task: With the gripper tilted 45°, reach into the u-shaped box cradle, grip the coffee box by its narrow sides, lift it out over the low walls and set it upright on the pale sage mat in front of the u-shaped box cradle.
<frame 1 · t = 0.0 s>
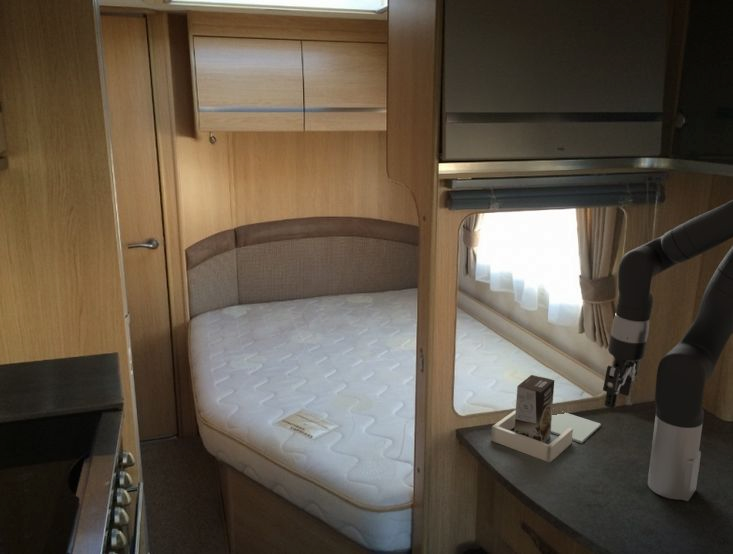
hand: (617, 400, 149), 17 cm above the counter, tool pointing down, fingers open, 8 cm apart
u-shaped box cradle: (532, 441, 165), on the counter
coffee box: (532, 441, 165), on the counter
mat: (565, 425, 173), on the counter
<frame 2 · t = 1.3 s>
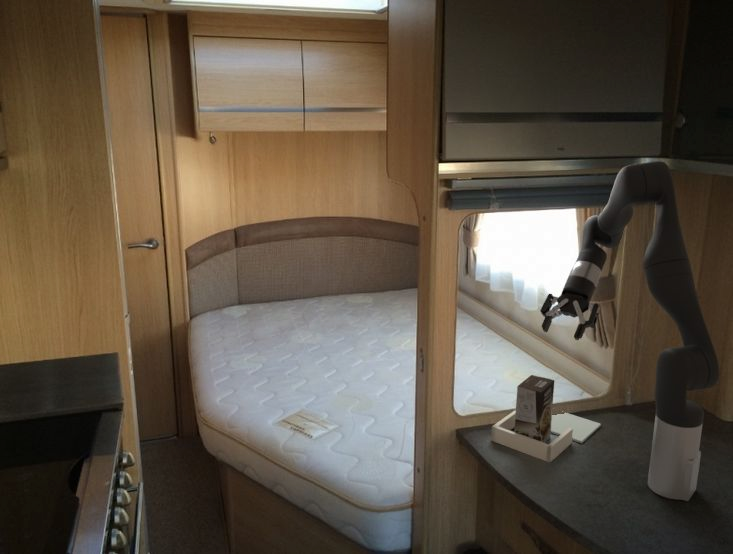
hand: (560, 334, 168), 25 cm above the counter, tool tilted 45°, fingers open, 8 cm apart
nothing on the counter moved.
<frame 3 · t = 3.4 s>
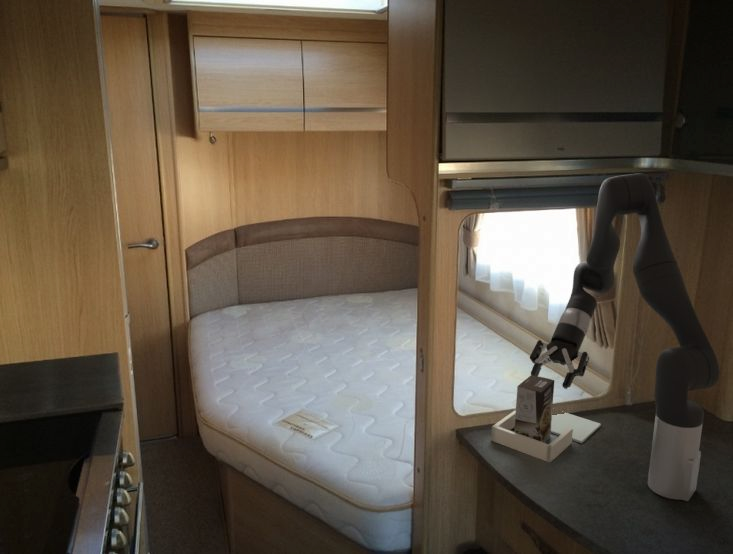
hand: (548, 382, 167), 14 cm above the counter, tool tilted 45°, fingers open, 8 cm apart
nothing on the counter moved.
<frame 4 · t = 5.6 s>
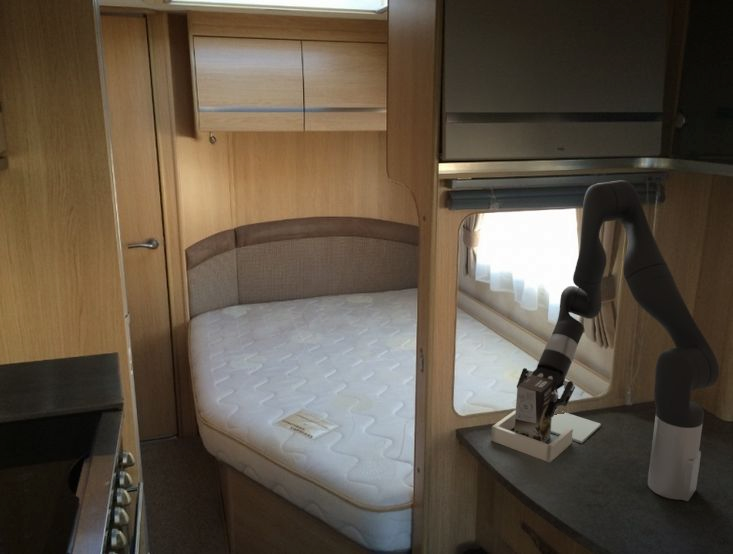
hand: (533, 412, 163), 8 cm above the counter, tool tilted 45°, fingers closed on coffee box, 6 cm apart
coffee box: (532, 441, 165), on the counter, touching gripper
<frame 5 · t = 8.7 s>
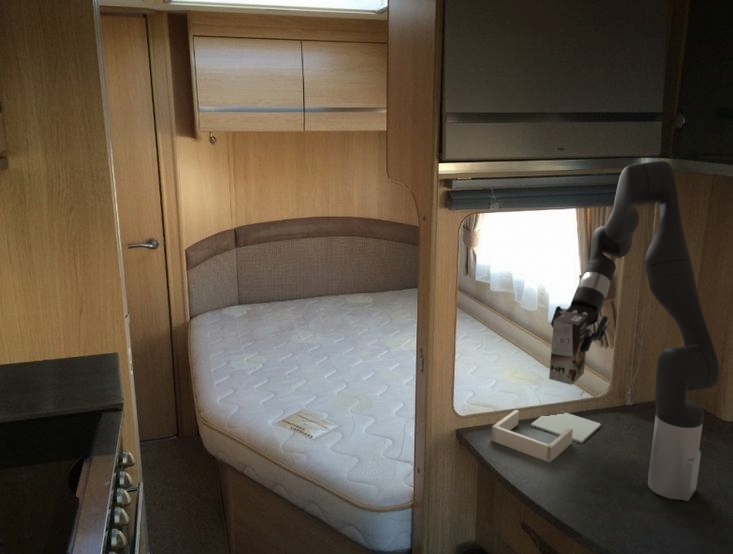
hand: (569, 347, 166), 22 cm above the counter, tool tilted 45°, fingers closed on coffee box, 6 cm apart
coffee box: (566, 377, 168), point 14 cm above the counter, touching gripper
when the fingers open (10 cm above the counter, at t = 11.8 s): coffee box drops 1 cm, resting on mat.
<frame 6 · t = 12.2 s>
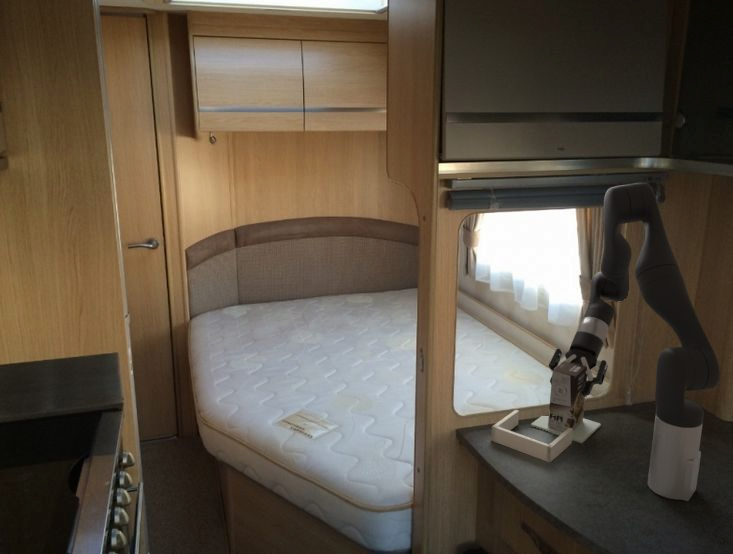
hand: (568, 390, 170), 10 cm above the counter, tool tilted 45°, fingers open, 8 cm apart
coffee box: (565, 424, 172), resting on mat
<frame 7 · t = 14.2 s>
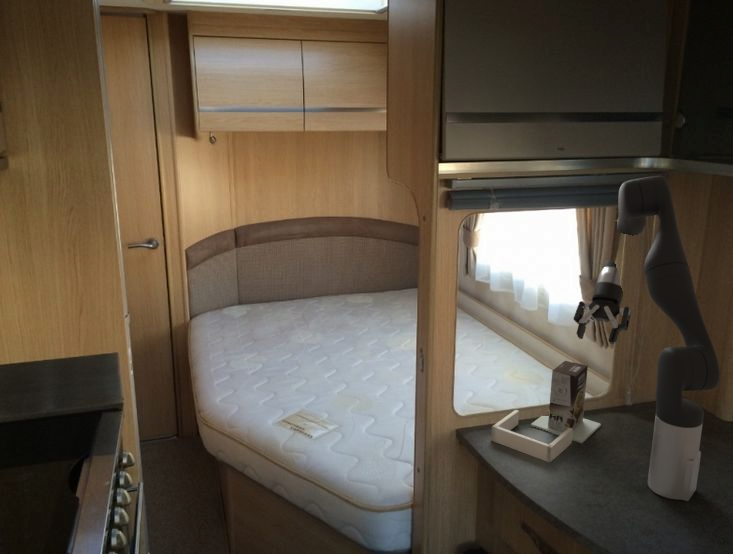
hand: (595, 340, 175), 21 cm above the counter, tool tilted 40°, fingers open, 8 cm apart
nothing on the counter moved.
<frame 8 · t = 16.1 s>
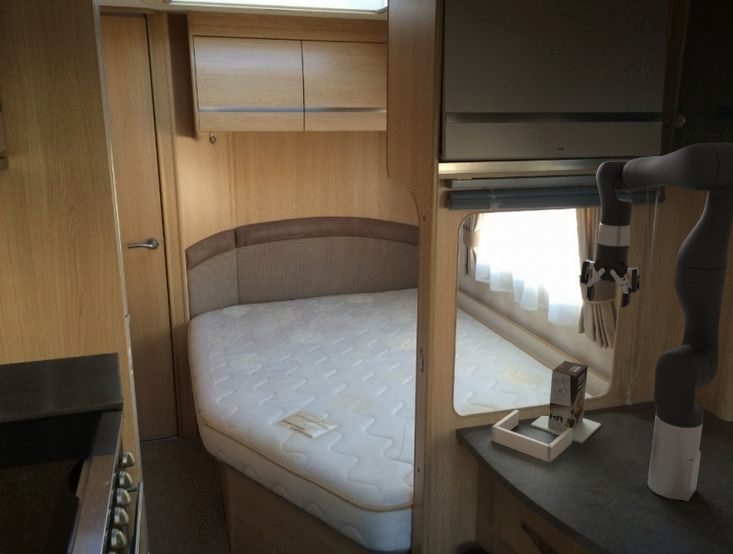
hand: (607, 303, 167), 33 cm above the counter, tool pointing down, fingers open, 8 cm apart
nothing on the counter moved.
at the end: coffee box inside the target area on the mat (0.2 cm from its centre), point 0.4 cm above the mat's base; coffee box tilted 0°; the gripper is holding nothing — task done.
